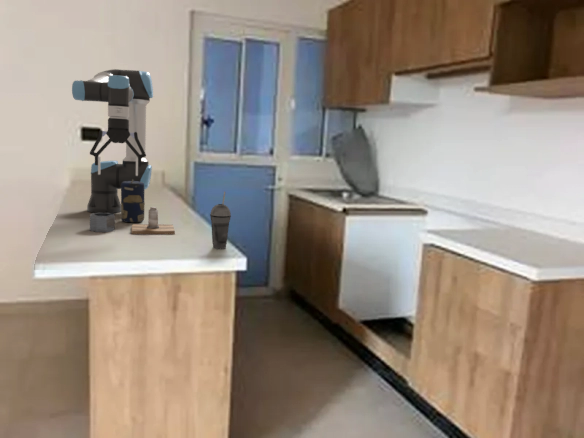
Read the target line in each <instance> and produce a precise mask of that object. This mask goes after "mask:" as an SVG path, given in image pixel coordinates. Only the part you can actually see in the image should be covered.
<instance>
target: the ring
mask: <svg viewBox="0 0 584 438" xmlns="http://www.w3.org/2000/svg"><path fill="white" fill-rule="evenodd" d="M115 214H116V213H93V212H91V213H90V214H89V231H91V232H94V231H95V233H109V232H115V225H116V224H115V222H116V221H115V218H116V217H115Z"/></svg>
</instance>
